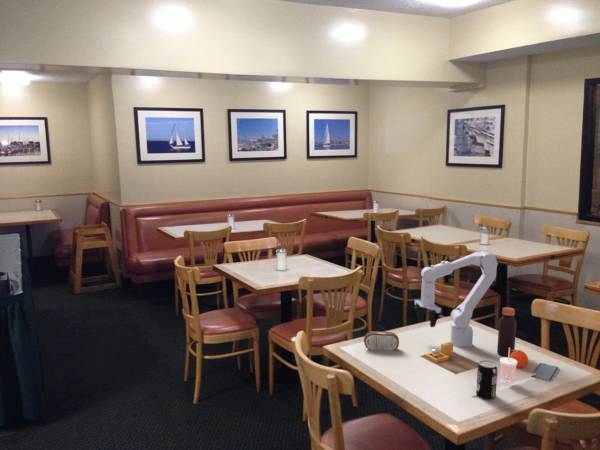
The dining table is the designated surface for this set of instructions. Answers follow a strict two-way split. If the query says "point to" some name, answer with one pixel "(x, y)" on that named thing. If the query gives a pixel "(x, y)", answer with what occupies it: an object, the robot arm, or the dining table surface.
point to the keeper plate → (456, 363)
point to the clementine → (519, 358)
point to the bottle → (506, 332)
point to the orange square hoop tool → (442, 353)
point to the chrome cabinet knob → (435, 352)
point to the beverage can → (486, 380)
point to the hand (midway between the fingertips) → (426, 324)
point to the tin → (381, 340)
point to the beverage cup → (508, 370)
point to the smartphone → (545, 372)
